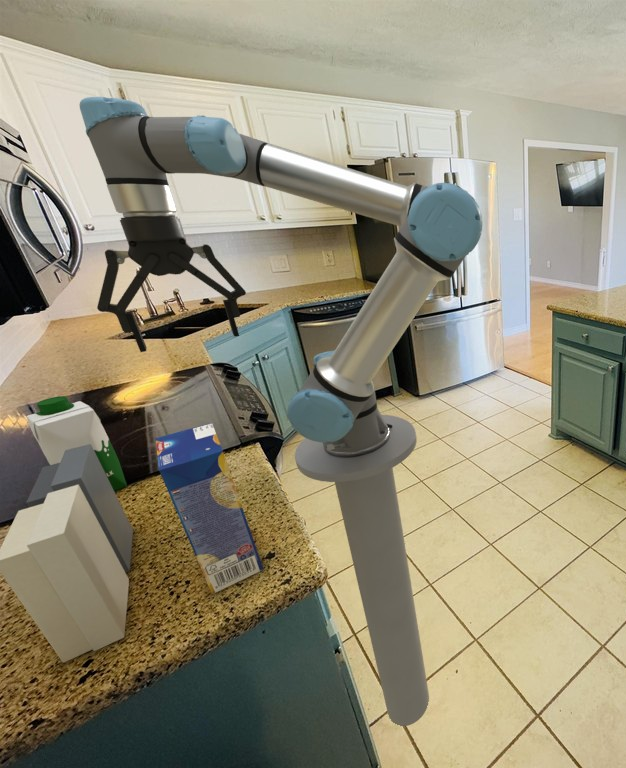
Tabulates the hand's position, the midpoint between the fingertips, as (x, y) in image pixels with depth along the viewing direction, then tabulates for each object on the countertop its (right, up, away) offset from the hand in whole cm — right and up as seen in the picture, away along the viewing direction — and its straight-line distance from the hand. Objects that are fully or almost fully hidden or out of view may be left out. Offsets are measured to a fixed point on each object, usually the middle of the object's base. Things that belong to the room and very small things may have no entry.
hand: (192, 342), depth 74 cm
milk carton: (-27, -30, +10) cm, 42 cm away
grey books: (-9, -36, -7) cm, 38 cm away
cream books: (0, -40, -17) cm, 44 cm away
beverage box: (+13, -36, -8) cm, 39 cm away
